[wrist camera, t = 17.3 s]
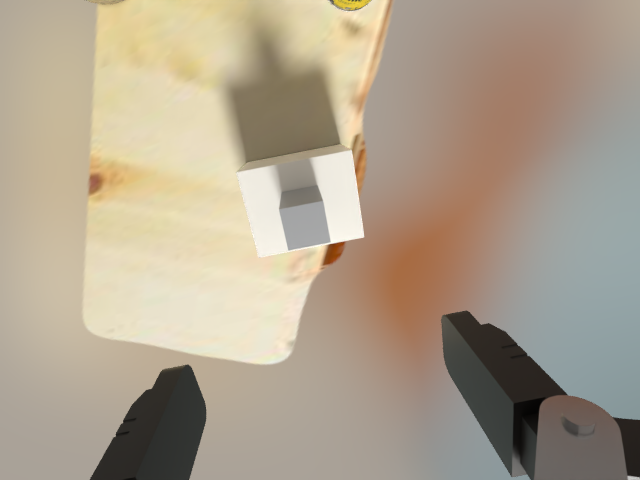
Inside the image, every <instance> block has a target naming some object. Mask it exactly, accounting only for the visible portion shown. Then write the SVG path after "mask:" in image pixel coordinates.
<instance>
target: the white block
mask: <svg viewBox="0 0 640 480" xmlns="http://www.w3.org/2000/svg"><path fill="white" fill-rule="evenodd" d="M236 174H237V177H238V181H239V185H240V189H241V193H242V196H243V200H244V204H245V208H246V212H247V215H248V219H249V223H250V227H251V231H252V234H253V238H254V242H255V246H256V249H257V253H258V257H259V258H260V257H265V256H270V255H276V254H281V253H286V252H291V251H296V250H301V249H306V248H311V247H316V246H322V245H327V244H332V243H337V242H342V241H347V240H352V239H357V238H362V237H364V232H363V225H362V217H361V211H360V204H359V197H358V190H357V183H356V176H355V169H354V162H353V155H352V150H351V149H349V148H347V147H345V146H343V145H342V144H338V145H333V146H328V147H323V148H318V149H313V150H307V151H302V152H297V153H292V154H287V155H282V156H276V157H271V158H266V159H261V160H256V161H251V162H247V163H246V164H245V165H243V166H242V167H241V168H240V169H239V170H238V171H237V172H236Z"/></svg>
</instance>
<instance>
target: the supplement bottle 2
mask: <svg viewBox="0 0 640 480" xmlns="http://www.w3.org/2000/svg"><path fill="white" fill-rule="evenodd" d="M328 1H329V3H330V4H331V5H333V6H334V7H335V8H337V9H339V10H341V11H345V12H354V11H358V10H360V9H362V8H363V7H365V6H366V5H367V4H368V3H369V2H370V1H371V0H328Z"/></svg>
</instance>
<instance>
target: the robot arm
mask: <svg viewBox="0 0 640 480" xmlns="http://www.w3.org/2000/svg"><path fill="white" fill-rule="evenodd" d="M86 1H89V2H92V3H98V4H115V3H118V2H121V1H124V0H86ZM441 323H442V337H443V352H444V360H445V364H446V367H447V369H448V372H449V374H450V376H451V378H452V380H453V381H454V383H455V384H456V386H457V388H458V389H459V391H460V393H461V394H462V396H463V398H464V399H465V401H466V403H467V404H468V406H469V407H470V409H471V411H472V412H473V414H474V416H475V417H476V419H477V421H478V422H479V424H480V426H481V427H482V429H483V431H484V432H485V434H486V435H487V437H488V439H489V440H490V442H491V444H492V445H493V447H494V449H495V450H496V452H497V453H498V455H499V457H500V458H501V460H502V462H503V463H504V465H505V467H506V468H507V470H508V472H509V473H510V475H511V477H516V476H521V475H526V474H527V475H528V476H529V477H530V479H531V480H640V420H632V419H621V418H614V417H612V416H611V415H610V414H609V413H608V412H606V411H605V410H604V409H602V408H601V407H599V406H598V405H596V404H594V403H592V402H590V401H587V400H585V399H582V398H579V397H575V396H568V395H567V394H566V393H565V392H564V391H563V389H562V388H560V386H559V385H558V384H557V383H555V381H554V380H553V379H551V377H550V376H549V375H548V374H546V373H545V371H544V370H543V369H542V368H541V367H540V366H539V365H538V364H537V363H536V362H535V361H534V360H533V359H532V358H531V357H530V356H527V353H526V352H525V351H524V350H523V349H522V348H521V347H520V346H518V345H517V343H516V342H515V341H514V340H513V339H512V338H511V337H510V336H509V335H508V334H507V333H506V332H505V331H502V330H501V329H499V328H497V327H495V326H493V325H491V324H489V323H488V324H483V325H481V324H479V322H478V321H477V320H476V319H475V318H474V317H473V316H472V315H471V314H470V312H468V311H462V312H457V313H451V314H447V315H443V316H442V319H441ZM205 422H206V405H205V401H204V399H203V396H202V393H201V391H200V388H199V386H198V383H197V381H196V378H195V375H194V372H193V370H192V368H191V367H190V366H189V365H183V366H178V367H173V368H168V369H164V370H162V371H161V372H160V374H159V376H158V378H157V380H156V382H155V384H154V386H153V388H152V389H149V390H146V391H145V392H144V393H143V394H142V395H141V396H140V397H139V398H138V399H137V400H136V401H135V402H134V403H133V404H132V406H131V408H130V409H129V411H128V413H127V415H126V416H125V418H124V420H123V424H121V425H120V427H119V429H118V431H117V432H116V437H114V438H113V440H112V441H111V443H110V445H109V447H108V448H107V450H106V452H105V454H104V456H103V458H102V459H101V461H100V463H99V465H98V466H97V468H96V470H95V471H94V473H93V475H92V477H91V479H90V480H189V478H190V475H191V471H192V468H193V464H194V461H195V457H196V454H197V451H198V447H199V444H200V440H201V437H202V433H203V430H204V426H205Z"/></svg>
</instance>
